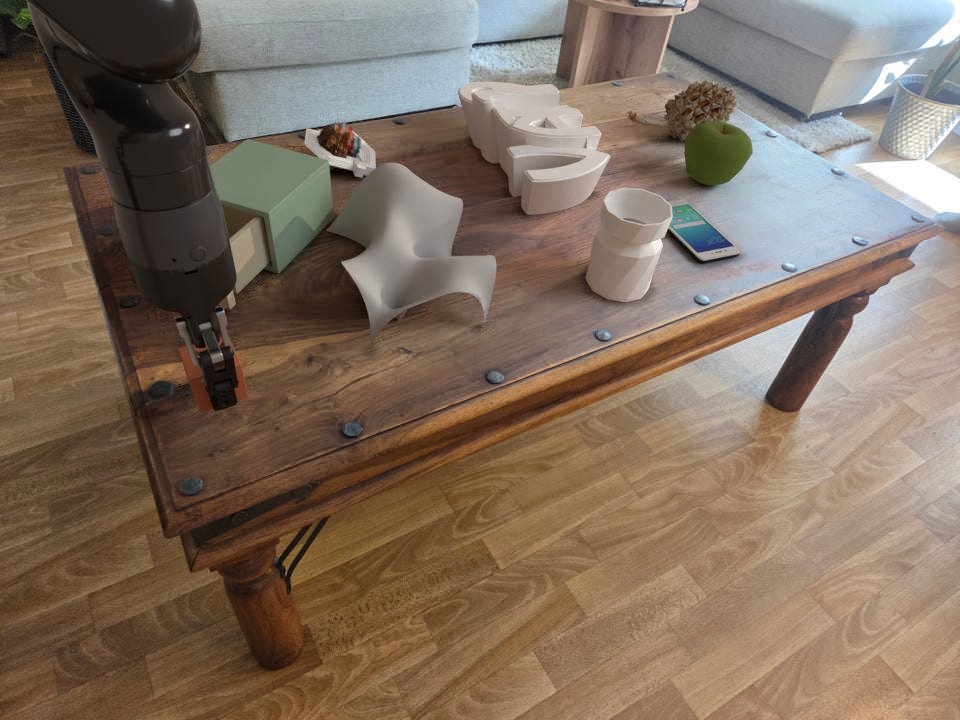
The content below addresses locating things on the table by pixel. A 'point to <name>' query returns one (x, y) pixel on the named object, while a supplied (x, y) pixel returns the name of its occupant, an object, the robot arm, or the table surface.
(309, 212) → the cabinet
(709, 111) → the dried hydrangea flower
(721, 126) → the apple
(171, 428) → the table surface
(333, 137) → the mineral specimen
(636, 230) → the vase
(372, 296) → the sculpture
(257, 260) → the drawer
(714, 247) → the smartphone
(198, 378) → the block
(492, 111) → the wavy white extrusion
